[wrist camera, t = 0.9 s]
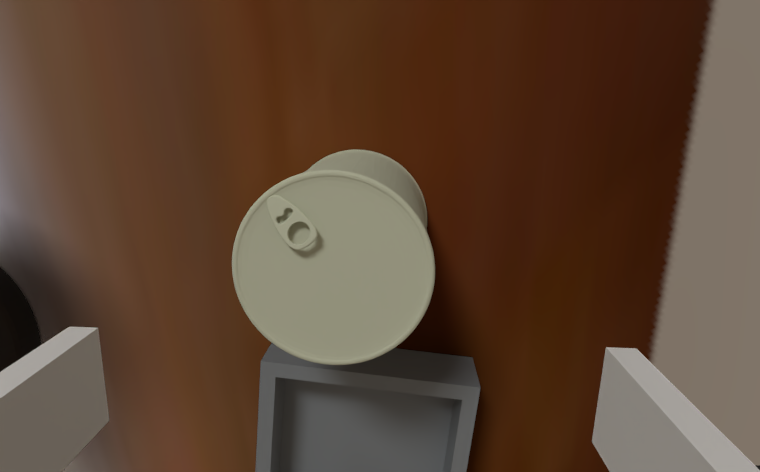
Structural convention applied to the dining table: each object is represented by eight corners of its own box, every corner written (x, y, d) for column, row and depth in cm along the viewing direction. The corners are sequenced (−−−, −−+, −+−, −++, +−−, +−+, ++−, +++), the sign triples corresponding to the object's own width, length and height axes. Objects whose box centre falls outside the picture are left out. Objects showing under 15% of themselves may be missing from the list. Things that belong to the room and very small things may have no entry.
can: (368, 119, 31) (344, 123, 20) (455, 231, 33) (480, 295, 21) (261, 207, 33) (182, 257, 22) (348, 309, 35) (318, 408, 23)
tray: (268, 497, 39) (252, 540, 35) (276, 334, 35) (260, 361, 32) (446, 520, 38) (450, 566, 35) (472, 357, 35) (480, 387, 31)
